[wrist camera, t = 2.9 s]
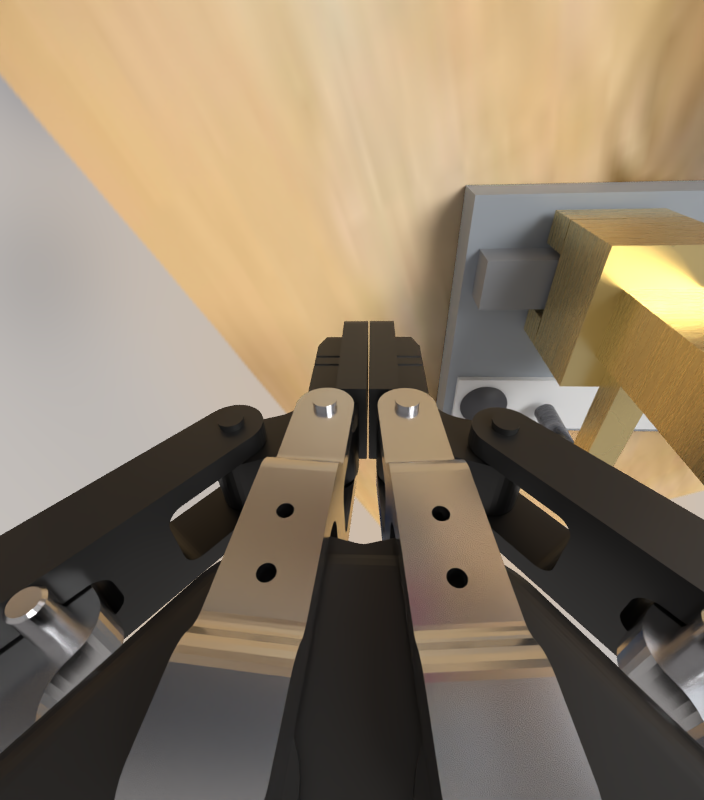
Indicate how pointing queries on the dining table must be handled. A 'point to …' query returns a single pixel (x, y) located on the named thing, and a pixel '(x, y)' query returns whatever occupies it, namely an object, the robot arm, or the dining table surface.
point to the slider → (627, 327)
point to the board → (521, 227)
